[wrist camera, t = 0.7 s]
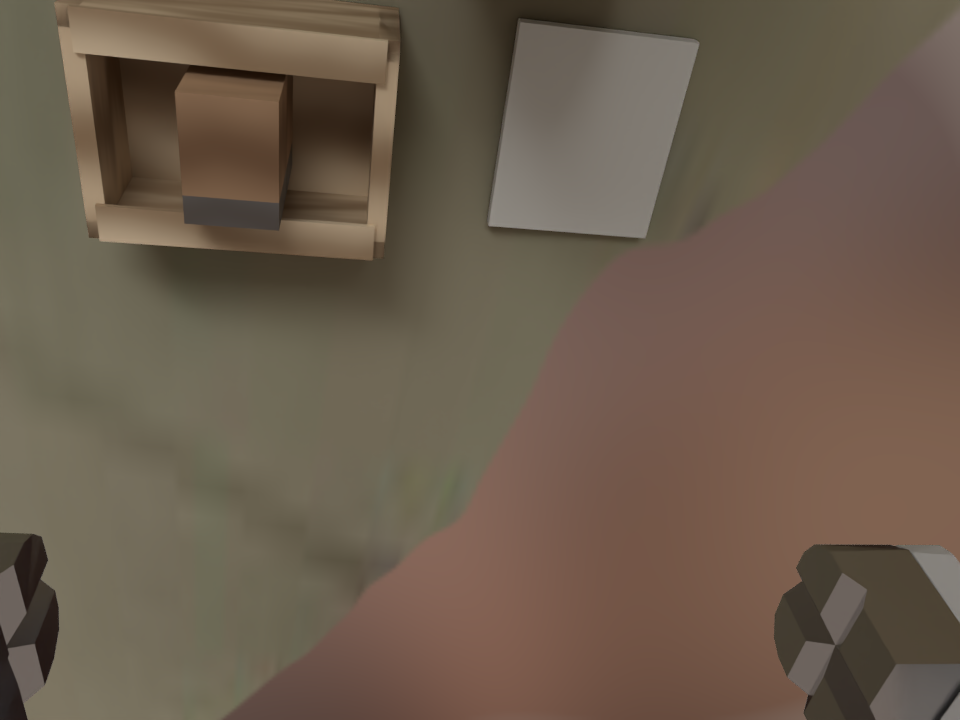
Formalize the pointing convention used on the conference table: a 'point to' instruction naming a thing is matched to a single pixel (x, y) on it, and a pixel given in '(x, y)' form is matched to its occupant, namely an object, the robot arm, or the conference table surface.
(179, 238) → the brown wooden open box
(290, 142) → the capped block
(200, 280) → the conference table surface
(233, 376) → the conference table surface
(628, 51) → the felt pad
